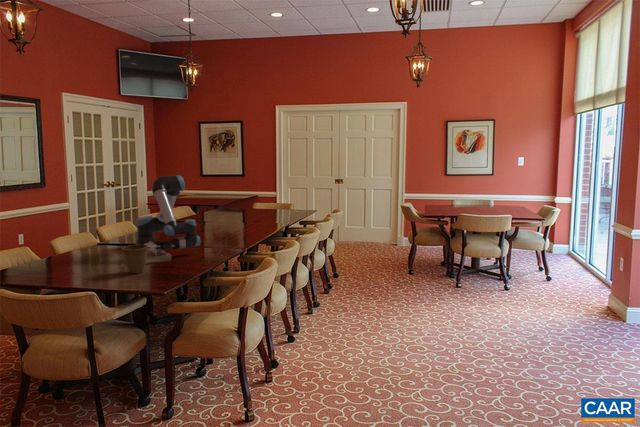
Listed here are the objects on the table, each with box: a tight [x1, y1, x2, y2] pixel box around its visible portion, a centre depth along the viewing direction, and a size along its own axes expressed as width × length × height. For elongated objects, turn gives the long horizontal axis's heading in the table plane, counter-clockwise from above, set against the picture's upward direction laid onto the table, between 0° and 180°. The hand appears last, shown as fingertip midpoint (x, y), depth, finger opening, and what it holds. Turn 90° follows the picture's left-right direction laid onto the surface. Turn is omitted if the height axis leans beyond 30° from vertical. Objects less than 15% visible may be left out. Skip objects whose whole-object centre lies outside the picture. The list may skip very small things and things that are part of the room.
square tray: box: [145, 250, 173, 265], centre depth 337 cm, size 17×20×4 cm
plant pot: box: [121, 244, 148, 274], centre depth 305 cm, size 15×15×16 cm
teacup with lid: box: [146, 241, 163, 257], centre depth 336 cm, size 12×9×12 cm
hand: (147, 247), depth 334 cm, fingers open, 13 cm apart
